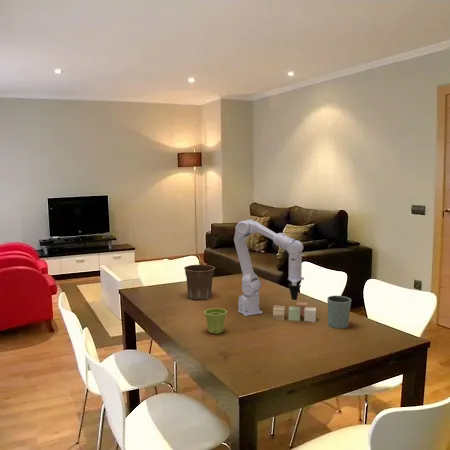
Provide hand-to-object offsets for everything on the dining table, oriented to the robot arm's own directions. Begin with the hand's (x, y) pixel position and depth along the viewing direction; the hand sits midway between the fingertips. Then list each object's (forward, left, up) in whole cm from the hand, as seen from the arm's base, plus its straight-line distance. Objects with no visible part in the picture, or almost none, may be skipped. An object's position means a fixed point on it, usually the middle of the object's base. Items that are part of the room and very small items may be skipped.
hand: (294, 297), depth 208 cm
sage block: (0, 0, -10) cm, 10 cm away
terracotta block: (+7, +4, -10) cm, 13 cm away
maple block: (-6, +4, -10) cm, 12 cm away
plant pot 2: (-39, +1, -10) cm, 40 cm away
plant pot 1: (-25, +52, -10) cm, 58 cm away
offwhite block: (+6, -4, -10) cm, 12 cm away
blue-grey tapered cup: (+12, -16, -10) cm, 23 cm away
